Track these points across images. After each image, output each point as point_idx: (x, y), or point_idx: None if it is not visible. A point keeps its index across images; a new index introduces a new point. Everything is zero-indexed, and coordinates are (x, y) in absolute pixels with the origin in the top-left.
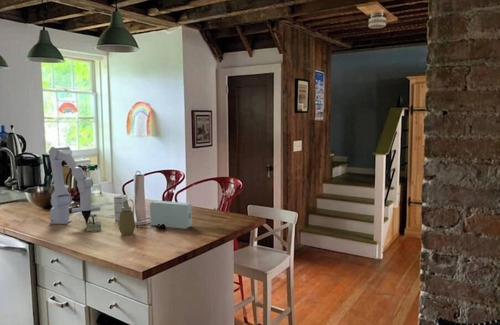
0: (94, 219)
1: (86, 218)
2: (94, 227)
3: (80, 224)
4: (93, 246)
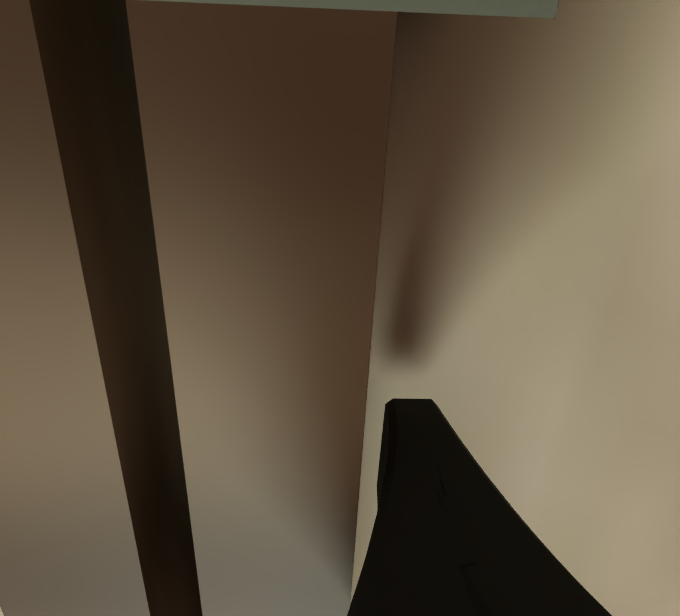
0: (124, 589)
1: (478, 579)
2: None
3: None
4: None
